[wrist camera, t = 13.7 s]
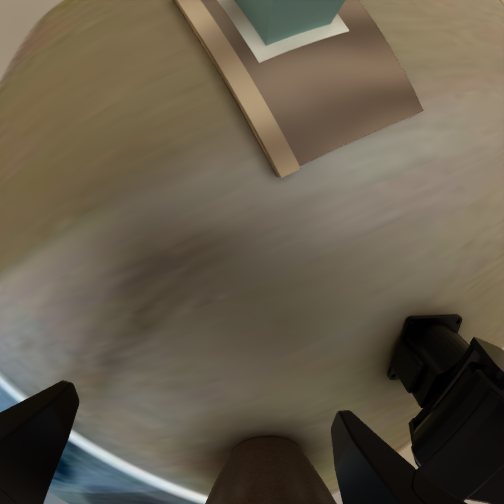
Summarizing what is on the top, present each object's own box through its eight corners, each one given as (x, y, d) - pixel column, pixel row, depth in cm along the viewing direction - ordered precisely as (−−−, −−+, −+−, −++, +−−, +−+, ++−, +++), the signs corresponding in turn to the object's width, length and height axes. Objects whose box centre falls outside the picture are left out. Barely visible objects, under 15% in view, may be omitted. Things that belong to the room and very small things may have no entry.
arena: (419, 111, 17) (441, 106, 15) (276, 176, 19) (281, 178, 16) (312, -49, 13) (319, -69, 11) (172, -2, 15) (161, -22, 12)
